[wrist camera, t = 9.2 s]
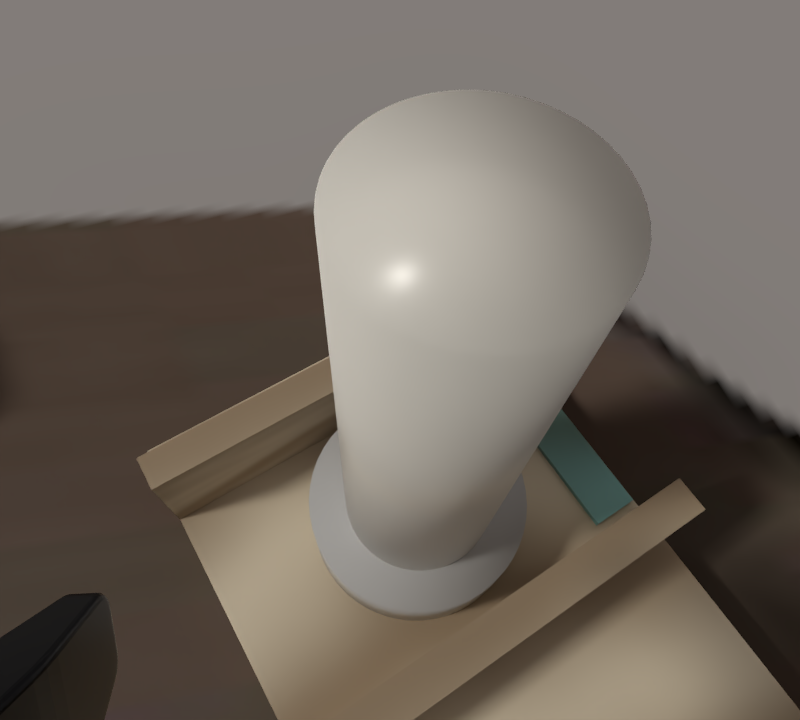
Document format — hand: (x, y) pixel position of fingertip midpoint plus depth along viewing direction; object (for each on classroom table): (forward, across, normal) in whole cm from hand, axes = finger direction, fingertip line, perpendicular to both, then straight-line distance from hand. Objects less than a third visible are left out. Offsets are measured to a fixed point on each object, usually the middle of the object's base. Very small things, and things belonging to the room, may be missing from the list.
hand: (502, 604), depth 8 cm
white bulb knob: (+12, 0, +6) cm, 13 cm away
